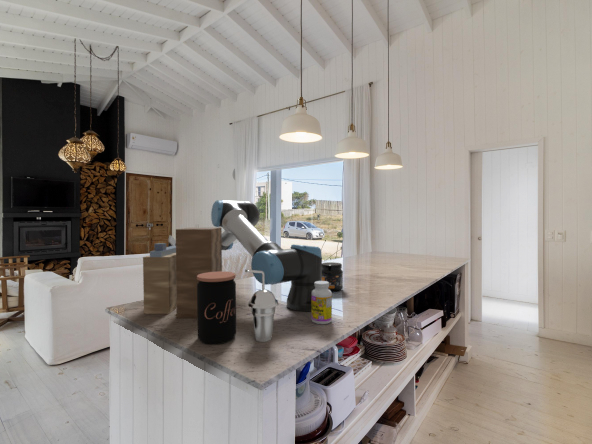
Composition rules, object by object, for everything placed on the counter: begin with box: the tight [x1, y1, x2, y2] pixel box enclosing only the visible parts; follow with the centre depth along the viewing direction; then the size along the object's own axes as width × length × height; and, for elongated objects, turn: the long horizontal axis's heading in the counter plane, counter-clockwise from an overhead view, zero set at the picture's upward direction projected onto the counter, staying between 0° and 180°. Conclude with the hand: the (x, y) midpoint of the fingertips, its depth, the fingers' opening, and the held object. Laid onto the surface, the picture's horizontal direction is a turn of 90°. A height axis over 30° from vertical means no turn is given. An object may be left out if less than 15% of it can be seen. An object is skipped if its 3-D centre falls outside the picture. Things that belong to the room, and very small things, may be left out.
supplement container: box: [322, 261, 344, 293], centre depth 149 cm, size 10×10×12 cm
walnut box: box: [175, 226, 223, 319], centre depth 116 cm, size 14×12×30 cm
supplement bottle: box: [310, 281, 333, 325], centre depth 105 cm, size 7×7×13 cm
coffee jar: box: [196, 271, 237, 345], centre depth 91 cm, size 11×11×18 cm
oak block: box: [142, 253, 177, 315], centre depth 120 cm, size 14×9×20 cm, turn 179°
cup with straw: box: [244, 269, 279, 343], centre depth 91 cm, size 8×9×20 cm
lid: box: [149, 242, 176, 257], centre depth 123 cm, size 20×4×4 cm, turn 179°
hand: (185, 238), depth 141 cm, fingers open, 13 cm apart
